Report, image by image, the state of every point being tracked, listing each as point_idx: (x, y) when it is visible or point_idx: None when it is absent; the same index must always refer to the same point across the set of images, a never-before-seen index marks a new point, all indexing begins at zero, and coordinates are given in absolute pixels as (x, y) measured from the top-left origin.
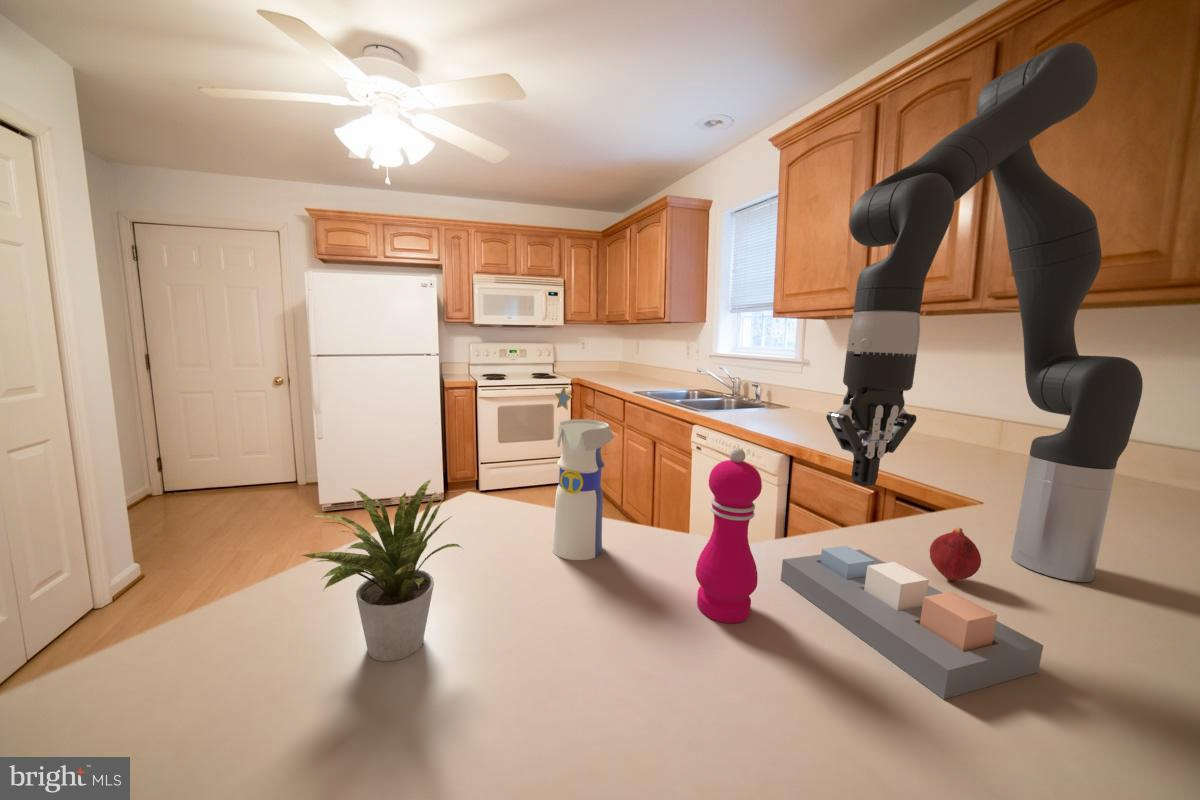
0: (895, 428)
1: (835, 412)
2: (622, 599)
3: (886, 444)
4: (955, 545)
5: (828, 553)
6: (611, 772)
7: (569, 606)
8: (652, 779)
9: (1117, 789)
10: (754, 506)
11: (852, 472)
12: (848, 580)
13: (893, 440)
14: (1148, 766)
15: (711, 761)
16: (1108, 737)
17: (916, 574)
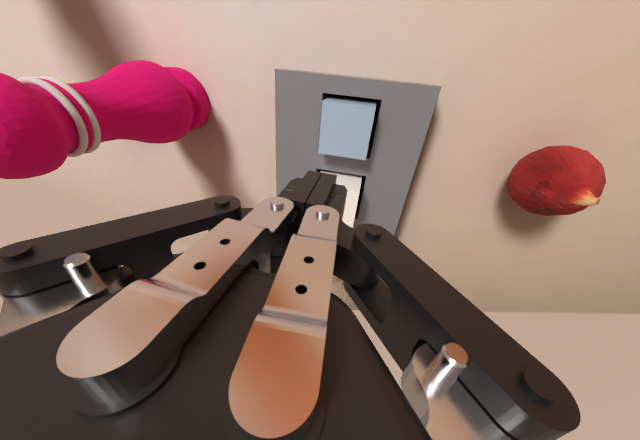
0: (400, 341)
1: (2, 297)
2: (81, 39)
3: (349, 281)
4: (536, 199)
5: (321, 115)
6: (91, 197)
7: (29, 33)
8: (109, 207)
9: None
10: (82, 149)
11: (287, 185)
12: (318, 153)
13: (358, 307)
14: None
15: (136, 212)
16: (345, 291)
17: (351, 219)
